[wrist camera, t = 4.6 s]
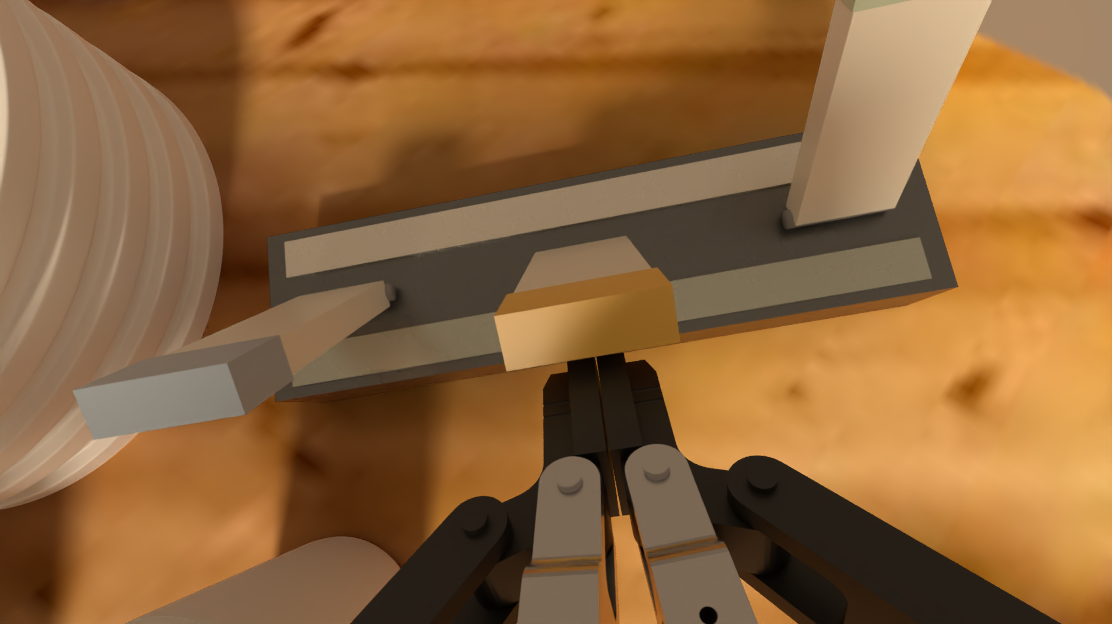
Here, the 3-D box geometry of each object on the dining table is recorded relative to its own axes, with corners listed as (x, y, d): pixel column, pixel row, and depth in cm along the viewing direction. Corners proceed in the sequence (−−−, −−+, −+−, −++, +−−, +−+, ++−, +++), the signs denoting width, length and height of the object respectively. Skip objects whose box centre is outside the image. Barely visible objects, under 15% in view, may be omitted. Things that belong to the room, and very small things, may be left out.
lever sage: (896, 219, 22) (1062, -127, 13) (789, 238, 23) (874, -85, 13) (881, 196, 23) (1027, -145, 14) (778, 215, 24) (851, -105, 14)
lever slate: (399, 304, 25) (249, 414, 14) (310, 320, 25) (90, 440, 14) (391, 274, 25) (230, 362, 13) (301, 291, 25) (68, 391, 14)
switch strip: (907, 305, 26) (961, 285, 22) (322, 402, 29) (272, 401, 24) (863, 154, 28) (906, 110, 23) (312, 259, 30) (264, 236, 26)
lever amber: (633, 262, 24) (684, 341, 13) (537, 279, 24) (502, 371, 13) (629, 230, 24) (676, 284, 12) (531, 249, 24) (489, 317, 13)
